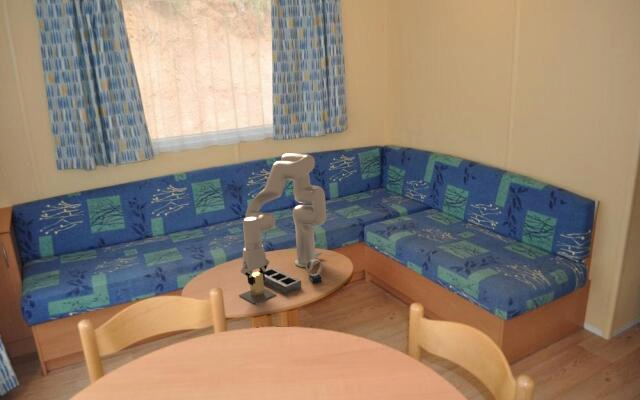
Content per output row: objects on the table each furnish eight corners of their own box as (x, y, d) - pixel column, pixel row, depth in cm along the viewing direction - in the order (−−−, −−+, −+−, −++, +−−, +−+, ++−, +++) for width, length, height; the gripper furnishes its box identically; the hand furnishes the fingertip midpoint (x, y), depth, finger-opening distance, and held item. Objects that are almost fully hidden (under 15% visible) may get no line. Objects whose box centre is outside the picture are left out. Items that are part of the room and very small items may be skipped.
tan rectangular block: (259, 291, 220) (257, 271, 218) (264, 294, 217) (262, 274, 215) (251, 294, 218) (249, 274, 215) (256, 297, 215) (254, 277, 212)
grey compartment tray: (258, 280, 233) (257, 273, 232) (272, 274, 239) (272, 267, 238) (286, 294, 217) (285, 286, 216) (301, 288, 223) (300, 280, 222)
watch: (305, 280, 231) (304, 259, 228) (320, 277, 234) (319, 256, 231) (309, 285, 226) (308, 263, 223) (324, 281, 229) (324, 260, 226)
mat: (260, 287, 226) (260, 286, 226) (276, 295, 217) (276, 294, 217) (239, 296, 218) (239, 294, 218) (254, 304, 209) (254, 303, 209)
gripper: (264, 237, 219) (266, 273, 224) (232, 248, 208) (235, 285, 213) (274, 241, 214) (276, 278, 219) (241, 252, 203) (245, 291, 208)
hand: (256, 281), depth 216 cm, fingers open, 5 cm apart
